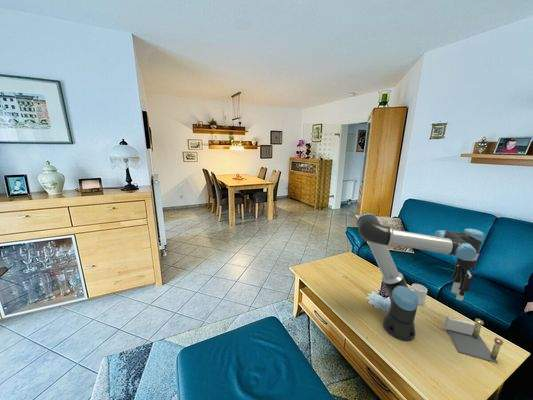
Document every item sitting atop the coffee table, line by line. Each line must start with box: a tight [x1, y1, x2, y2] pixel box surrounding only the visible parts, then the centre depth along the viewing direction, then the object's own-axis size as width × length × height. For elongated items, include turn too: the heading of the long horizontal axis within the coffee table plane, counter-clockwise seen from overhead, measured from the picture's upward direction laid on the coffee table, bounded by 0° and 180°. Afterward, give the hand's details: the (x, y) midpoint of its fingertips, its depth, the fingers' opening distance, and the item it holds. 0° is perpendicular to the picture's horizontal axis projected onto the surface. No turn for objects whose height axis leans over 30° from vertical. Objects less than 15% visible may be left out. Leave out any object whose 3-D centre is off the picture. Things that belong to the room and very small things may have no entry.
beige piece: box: [443, 315, 475, 335], centre depth 118 cm, size 12×2×7 cm, turn 69°
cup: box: [410, 283, 428, 306], centre depth 142 cm, size 8×12×10 cm
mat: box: [445, 329, 499, 364], centre depth 113 cm, size 15×17×1 cm
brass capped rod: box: [490, 337, 504, 360], centre depth 103 cm, size 3×3×11 cm
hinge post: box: [472, 317, 485, 339], centre depth 115 cm, size 3×3×11 cm
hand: (456, 296), depth 120 cm, fingers open, 5 cm apart
